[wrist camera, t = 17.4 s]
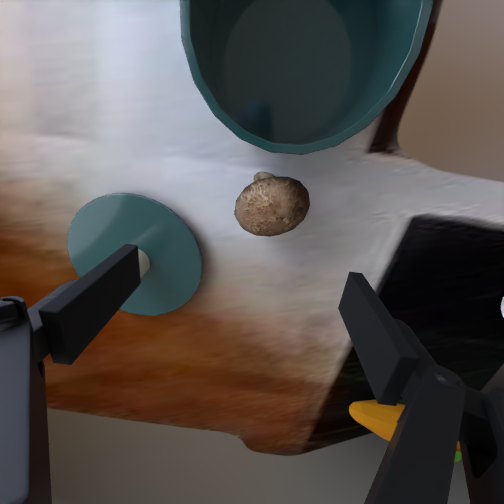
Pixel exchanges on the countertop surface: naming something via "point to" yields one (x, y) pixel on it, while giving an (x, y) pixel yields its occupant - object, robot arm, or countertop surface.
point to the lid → (139, 249)
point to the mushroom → (272, 205)
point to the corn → (382, 418)
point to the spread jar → (502, 306)
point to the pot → (300, 65)
